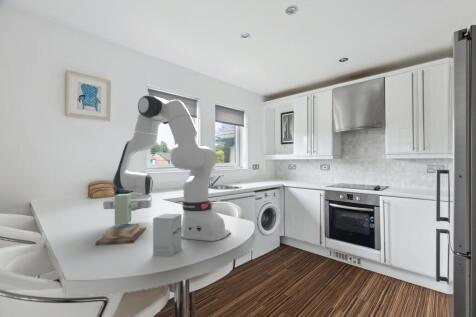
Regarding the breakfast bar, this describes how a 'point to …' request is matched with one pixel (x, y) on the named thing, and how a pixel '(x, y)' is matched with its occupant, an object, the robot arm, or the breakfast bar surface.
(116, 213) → the column block
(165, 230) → the supplement box
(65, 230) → the breakfast bar surface
